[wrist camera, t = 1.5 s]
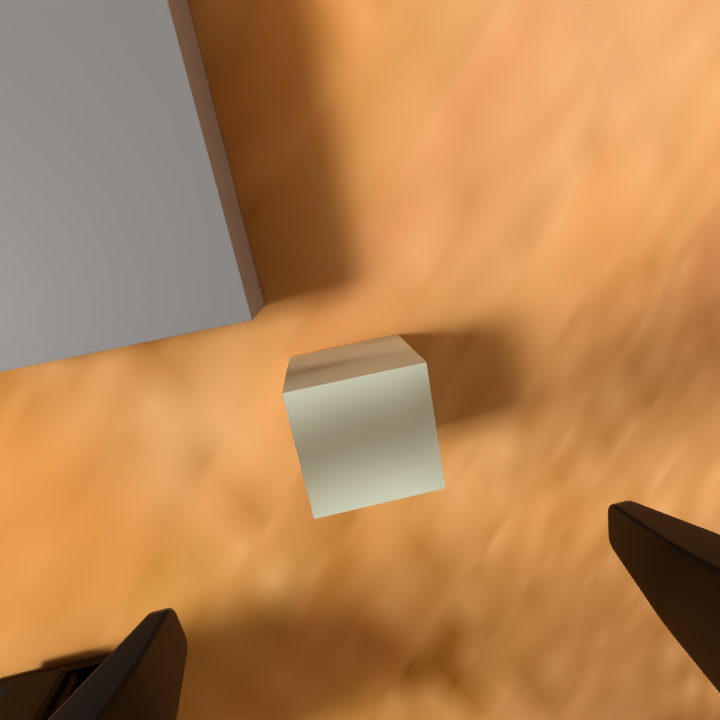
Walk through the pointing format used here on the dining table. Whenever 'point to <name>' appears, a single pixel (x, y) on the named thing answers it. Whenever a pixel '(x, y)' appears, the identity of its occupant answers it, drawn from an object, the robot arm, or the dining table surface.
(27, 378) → the dining table surface
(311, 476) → the cube
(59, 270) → the plinth
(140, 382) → the dining table surface
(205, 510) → the dining table surface
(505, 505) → the dining table surface
